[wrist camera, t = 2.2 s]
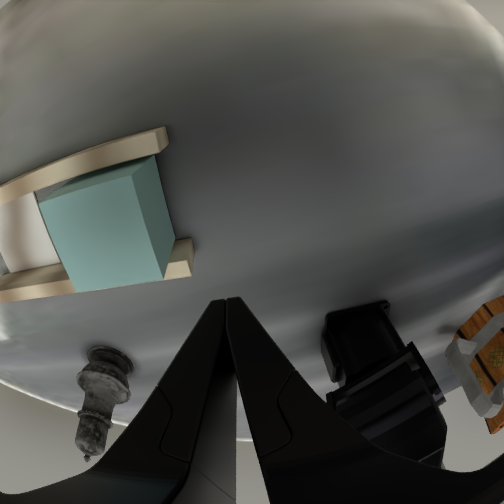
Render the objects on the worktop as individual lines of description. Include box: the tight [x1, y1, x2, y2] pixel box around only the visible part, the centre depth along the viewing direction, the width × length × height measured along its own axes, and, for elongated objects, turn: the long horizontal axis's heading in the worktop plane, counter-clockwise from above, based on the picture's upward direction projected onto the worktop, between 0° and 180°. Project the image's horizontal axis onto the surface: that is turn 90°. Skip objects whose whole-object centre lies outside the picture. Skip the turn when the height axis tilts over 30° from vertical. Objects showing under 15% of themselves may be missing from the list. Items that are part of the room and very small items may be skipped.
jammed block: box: [38, 155, 175, 292], centre depth 16 cm, size 6×6×5 cm
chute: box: [0, 126, 195, 303], centre depth 17 cm, size 20×9×3 cm, turn 97°
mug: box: [446, 296, 504, 434], centre depth 25 cm, size 20×14×15 cm
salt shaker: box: [75, 346, 133, 462], centre depth 21 cm, size 6×6×12 cm
